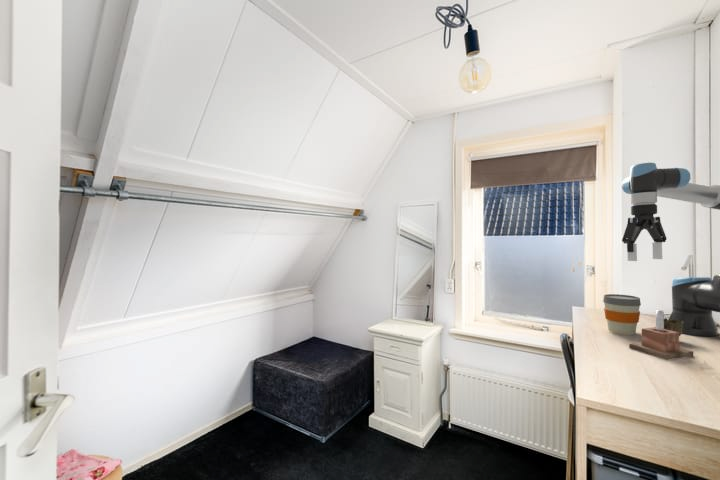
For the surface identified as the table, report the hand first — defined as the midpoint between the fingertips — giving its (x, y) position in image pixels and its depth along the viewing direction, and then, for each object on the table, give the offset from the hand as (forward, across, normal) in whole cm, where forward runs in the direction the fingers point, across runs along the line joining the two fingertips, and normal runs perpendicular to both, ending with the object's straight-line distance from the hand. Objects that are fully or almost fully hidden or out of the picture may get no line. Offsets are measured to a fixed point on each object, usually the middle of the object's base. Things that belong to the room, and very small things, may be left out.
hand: (645, 260), depth 124 cm
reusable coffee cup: (+32, -6, -14) cm, 35 cm away
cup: (+32, -12, +1) cm, 34 cm away
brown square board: (+32, +6, +8) cm, 33 cm away
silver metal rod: (+30, +6, +8) cm, 32 cm away
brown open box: (+30, +6, +8) cm, 32 cm away
